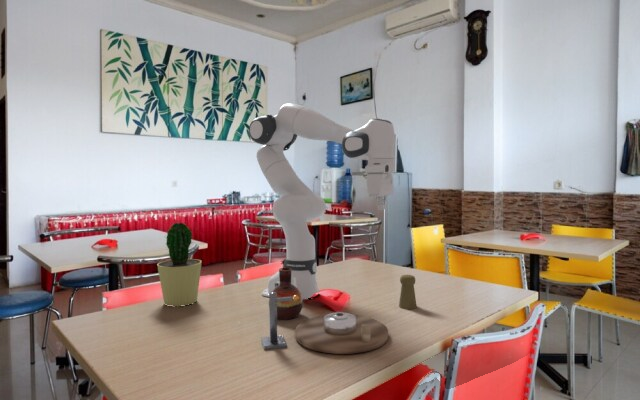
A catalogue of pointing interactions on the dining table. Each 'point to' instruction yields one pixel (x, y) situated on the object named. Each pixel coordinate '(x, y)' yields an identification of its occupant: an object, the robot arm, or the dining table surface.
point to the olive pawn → (407, 292)
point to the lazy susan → (362, 340)
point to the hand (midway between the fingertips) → (381, 209)
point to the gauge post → (275, 323)
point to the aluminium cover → (339, 323)
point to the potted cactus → (179, 268)
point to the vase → (287, 290)
